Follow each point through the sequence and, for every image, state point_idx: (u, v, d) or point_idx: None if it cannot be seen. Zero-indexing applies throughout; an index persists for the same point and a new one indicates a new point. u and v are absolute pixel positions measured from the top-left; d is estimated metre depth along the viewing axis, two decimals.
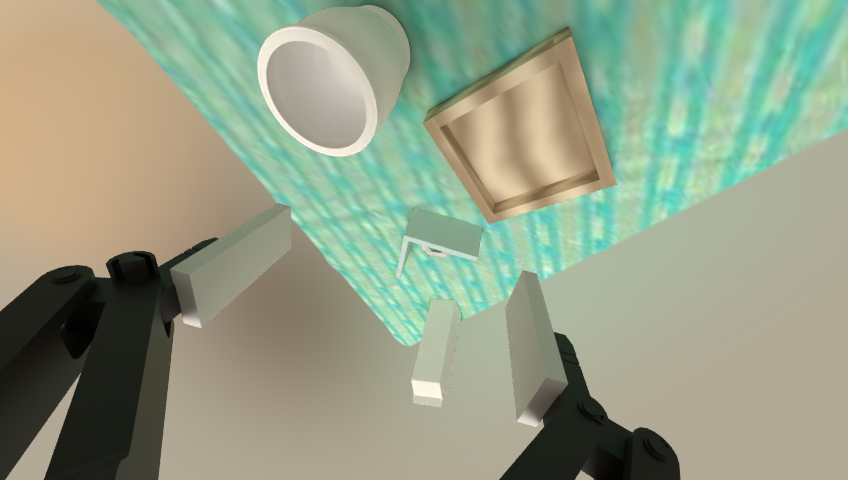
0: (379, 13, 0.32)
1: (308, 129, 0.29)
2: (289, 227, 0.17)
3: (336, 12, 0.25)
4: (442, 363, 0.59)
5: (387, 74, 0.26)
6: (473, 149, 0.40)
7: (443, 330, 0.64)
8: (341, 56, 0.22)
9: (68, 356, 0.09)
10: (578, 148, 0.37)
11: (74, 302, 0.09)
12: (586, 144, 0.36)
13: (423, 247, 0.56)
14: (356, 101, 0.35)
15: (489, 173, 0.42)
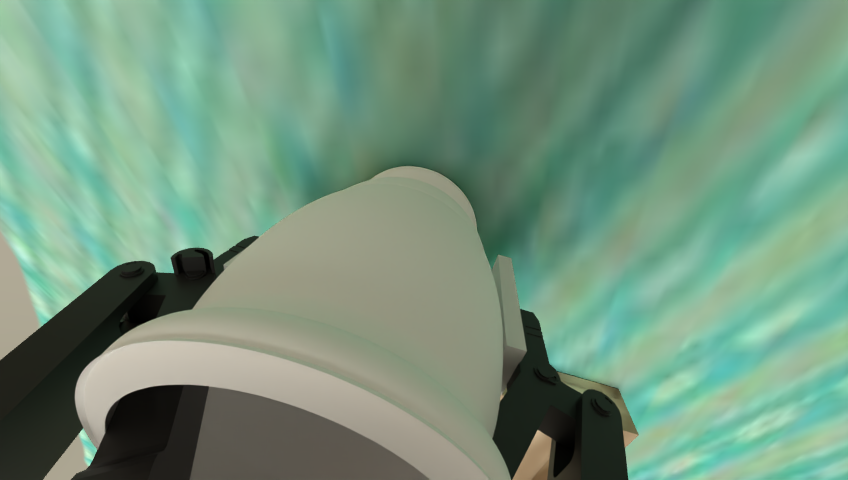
0: (467, 216, 0.18)
1: None
2: None
3: (482, 286, 0.09)
4: None
5: None
6: None
7: None
8: None
9: None
10: (525, 469, 0.29)
11: (135, 296, 0.10)
12: (535, 471, 0.29)
13: None
14: None
15: None
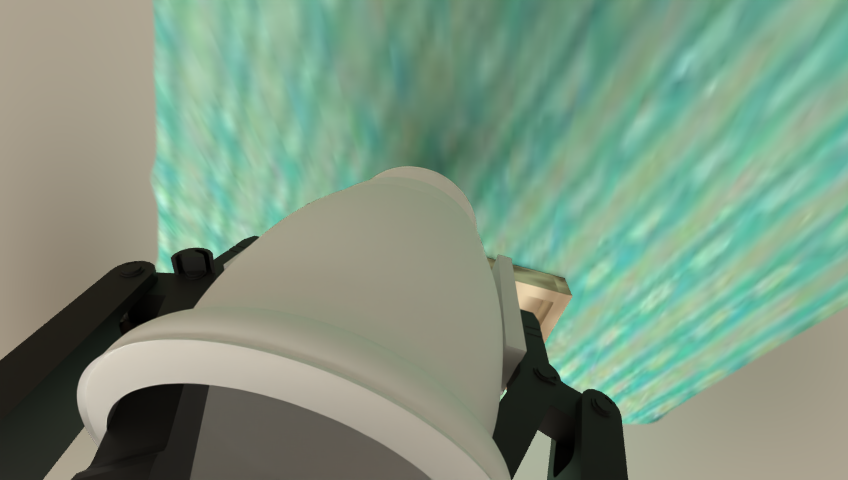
0: (467, 216, 0.18)
1: None
2: None
3: (482, 285, 0.09)
4: None
5: None
6: None
7: None
8: None
9: None
10: None
11: (135, 296, 0.10)
12: None
13: None
14: None
15: None
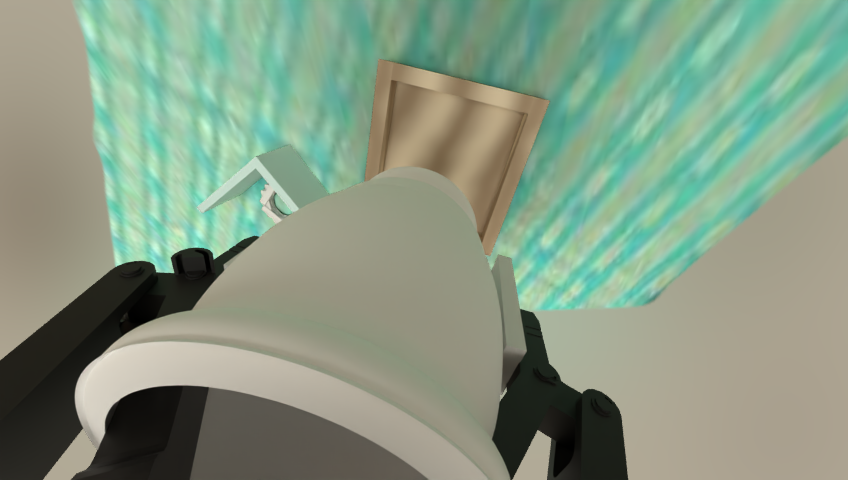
0: (467, 217, 0.18)
1: None
2: None
3: (482, 286, 0.09)
4: None
5: None
6: (400, 135, 0.35)
7: None
8: None
9: None
10: (482, 205, 0.37)
11: (135, 296, 0.10)
12: (489, 206, 0.37)
13: (263, 198, 0.42)
14: None
15: None
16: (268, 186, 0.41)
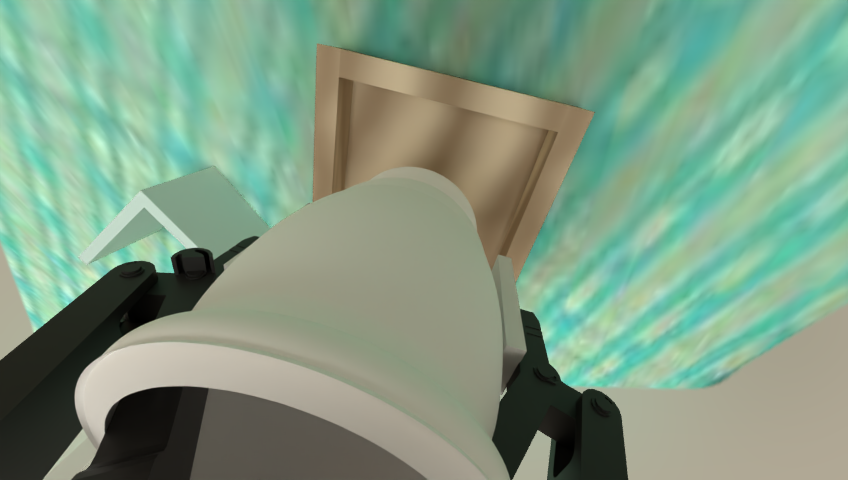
0: (467, 217, 0.18)
1: None
2: None
3: (482, 286, 0.09)
4: (54, 465, 0.28)
5: None
6: (363, 159, 0.24)
7: None
8: None
9: None
10: None
11: (135, 296, 0.10)
12: (493, 259, 0.26)
13: None
14: None
15: None
16: None
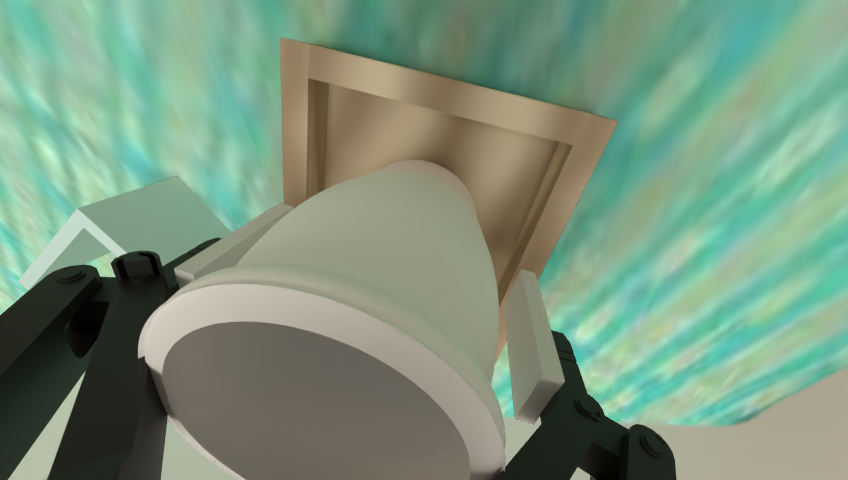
0: None
1: (218, 372, 0.11)
2: None
3: (480, 261, 0.11)
4: None
5: None
6: (344, 173, 0.20)
7: None
8: (481, 472, 0.07)
9: (73, 355, 0.09)
10: None
11: (79, 301, 0.09)
12: None
13: None
14: None
15: None
16: None
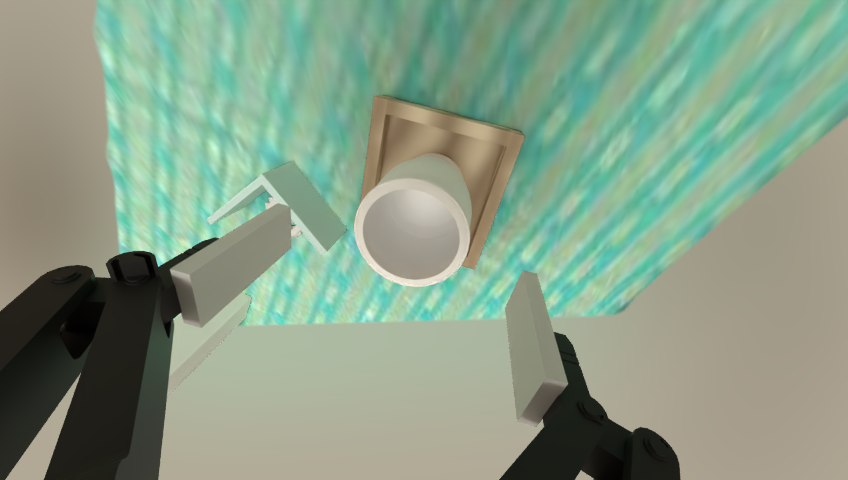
0: None
1: (366, 229, 0.28)
2: (289, 227, 0.17)
3: (463, 188, 0.29)
4: (181, 363, 0.42)
5: None
6: (394, 160, 0.38)
7: (212, 323, 0.48)
8: (462, 240, 0.25)
9: (68, 356, 0.09)
10: None
11: (74, 302, 0.09)
12: (474, 224, 0.41)
13: None
14: (395, 211, 0.36)
15: None
16: (272, 199, 0.44)
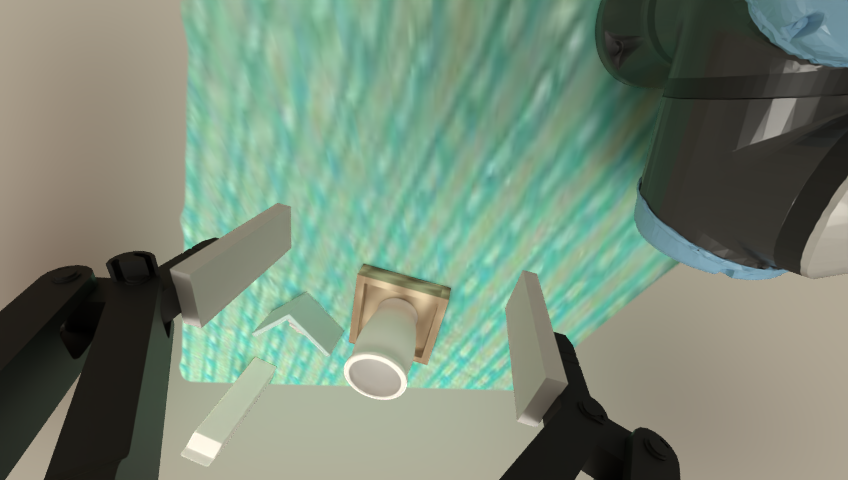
0: (413, 313, 0.58)
1: (351, 366, 0.50)
2: (289, 227, 0.17)
3: (407, 342, 0.50)
4: (234, 424, 0.64)
5: None
6: (372, 299, 0.60)
7: (251, 392, 0.70)
8: (402, 381, 0.46)
9: (68, 356, 0.09)
10: (422, 335, 0.62)
11: (74, 302, 0.09)
12: (426, 336, 0.62)
13: (290, 319, 0.66)
14: None
15: (370, 315, 0.62)
16: None
